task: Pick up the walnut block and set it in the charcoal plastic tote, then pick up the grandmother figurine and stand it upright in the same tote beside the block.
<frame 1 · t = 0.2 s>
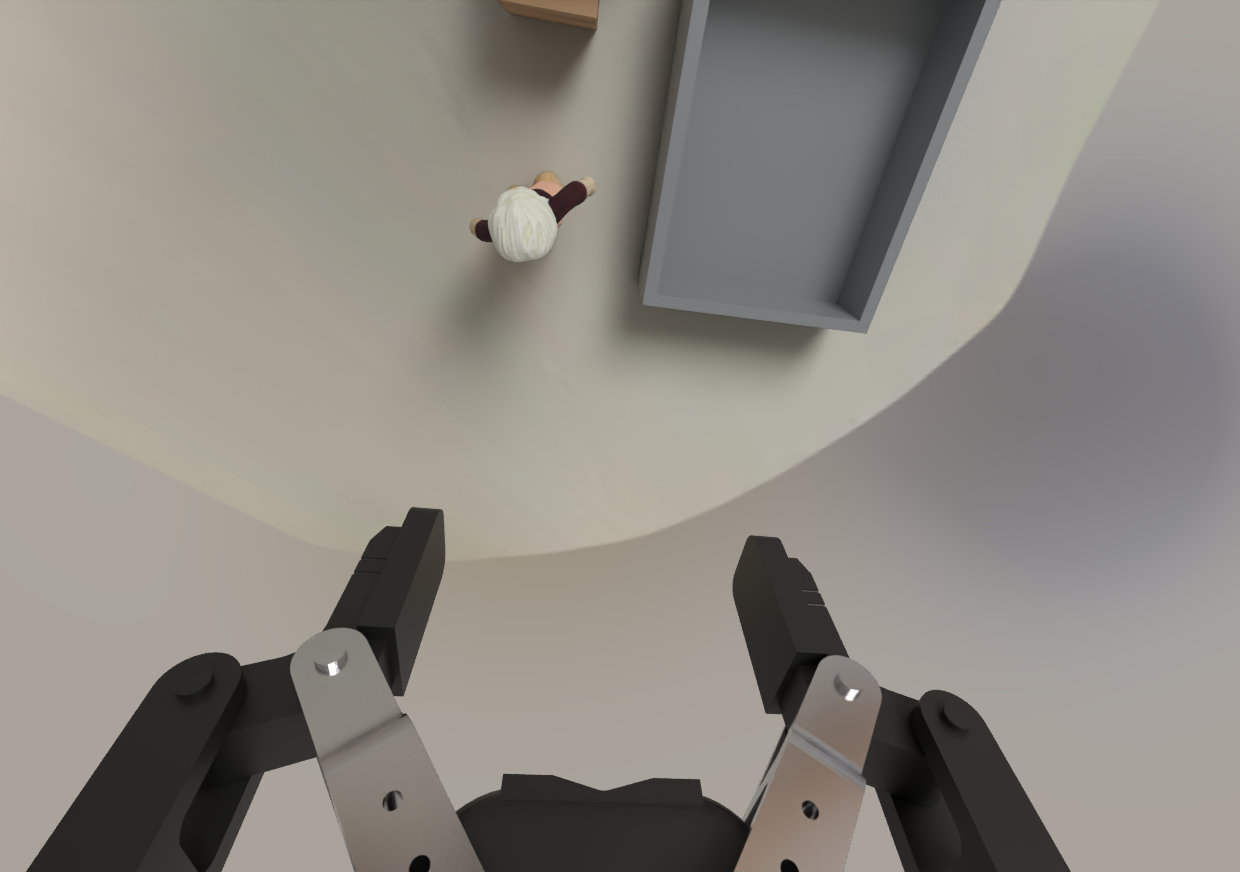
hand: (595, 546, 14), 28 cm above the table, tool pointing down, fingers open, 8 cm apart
grandmother figurine: (543, 197, 36), on the table
tote: (778, 150, 35), on the table
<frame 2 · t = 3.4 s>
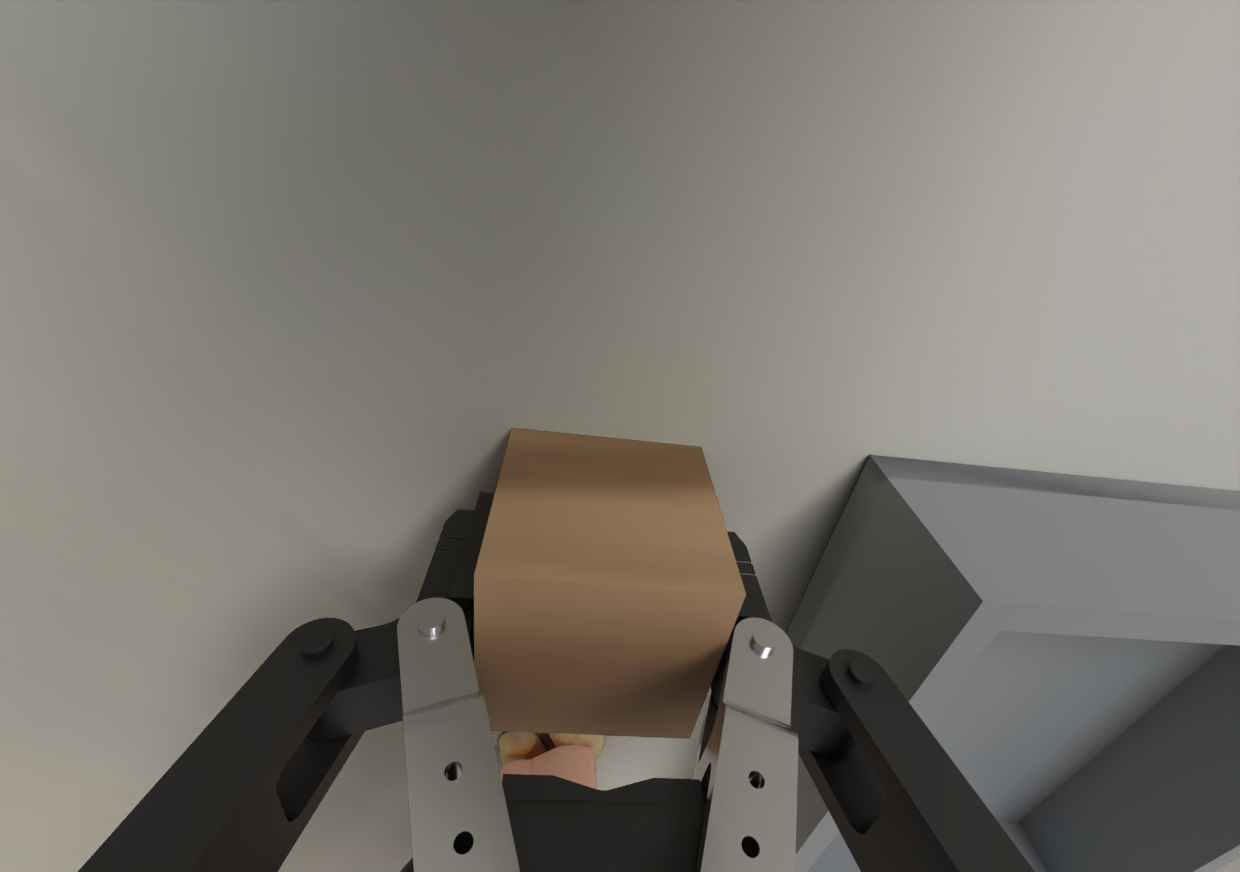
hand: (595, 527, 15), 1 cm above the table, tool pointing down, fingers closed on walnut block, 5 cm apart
walnut block: (596, 510, 15), on the table, touching gripper
grandmother figurine: (561, 733, 22), on the table
tote: (961, 682, 20), on the table
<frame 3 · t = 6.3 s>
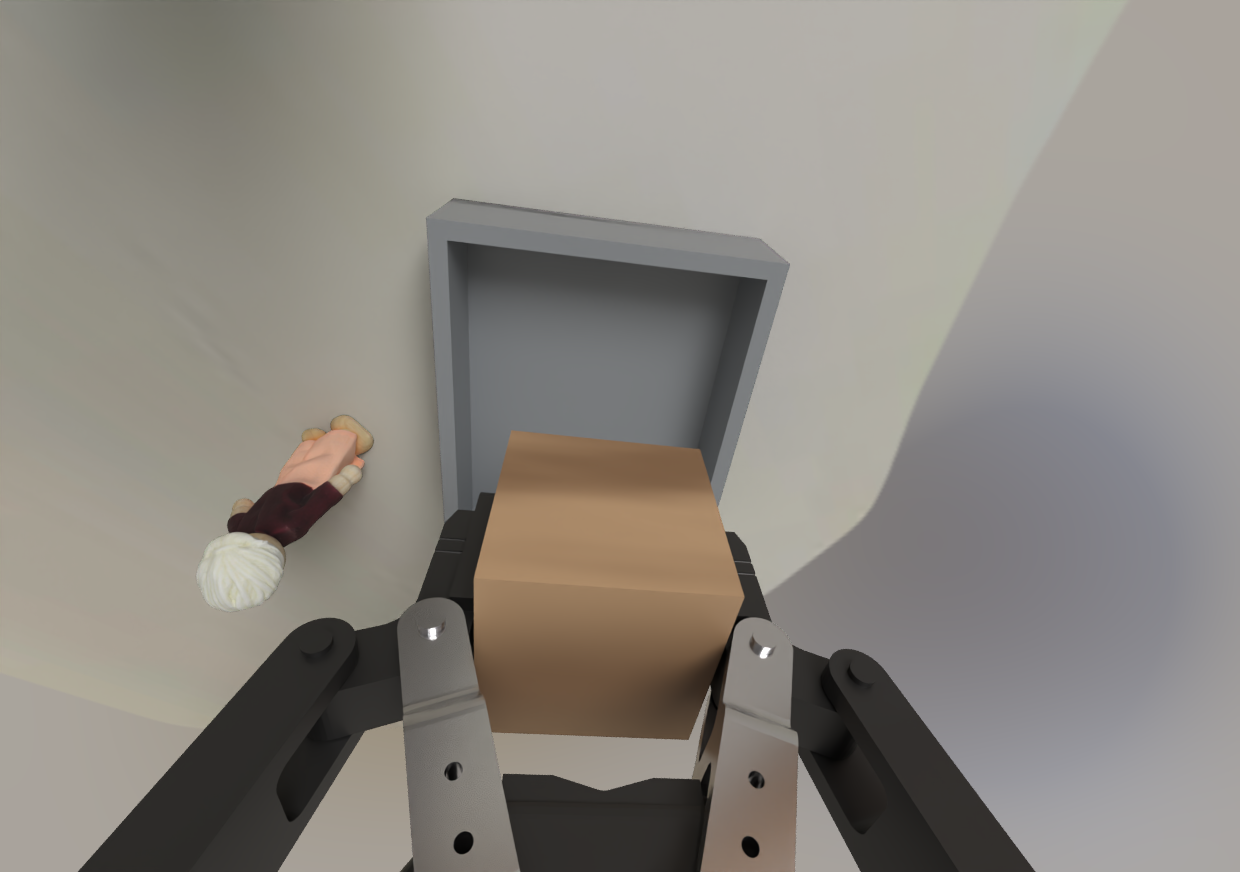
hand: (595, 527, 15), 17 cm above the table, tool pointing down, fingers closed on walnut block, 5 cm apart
walnut block: (596, 512, 15), point 17 cm above the table, touching gripper
grandmother figurine: (345, 436, 33), on the table
tote: (591, 390, 32), on the table
when the fingers open (3 cm above the table, at t = 9.5 s): walnut block drops 1 cm, resting on tote.
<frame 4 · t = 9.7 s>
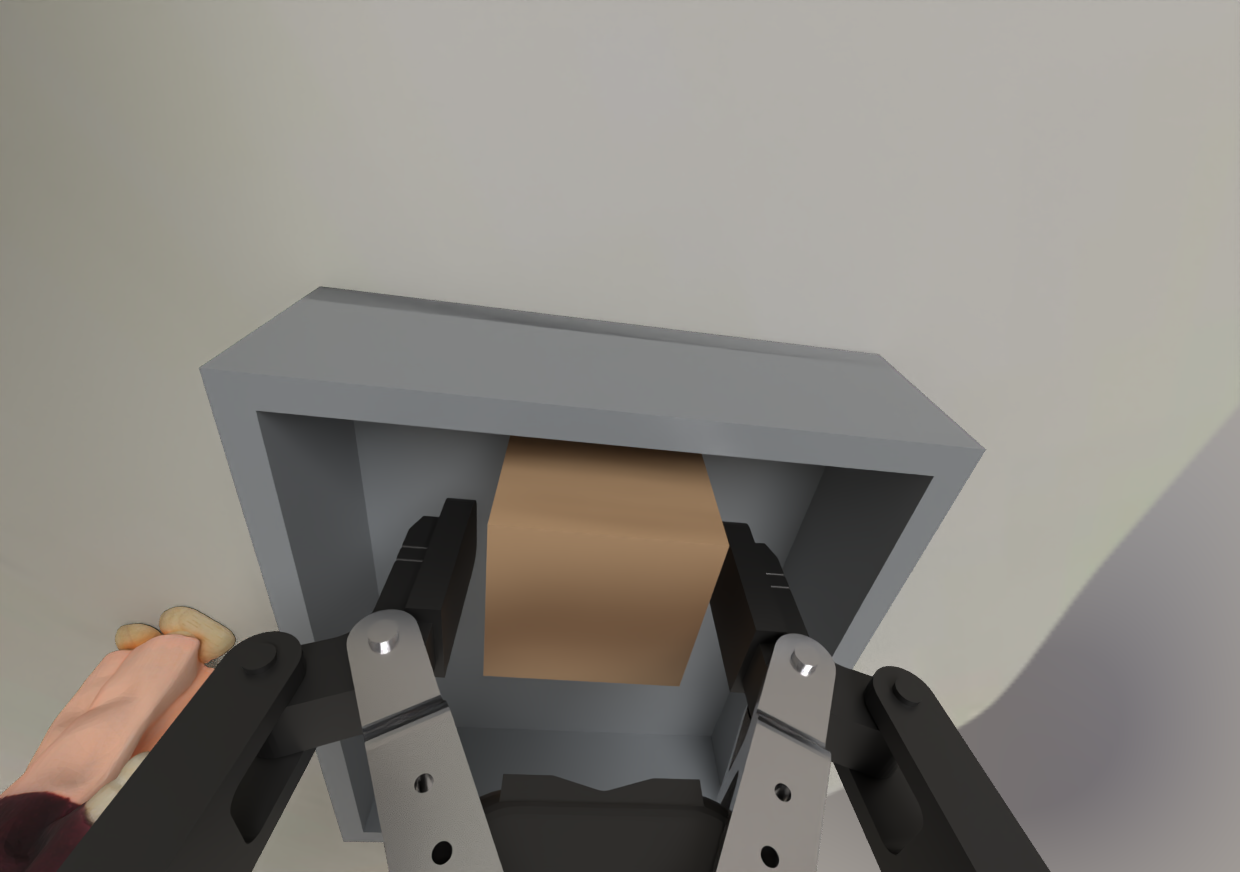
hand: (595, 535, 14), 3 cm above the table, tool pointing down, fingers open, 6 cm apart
walnut block: (595, 483, 16), point 1 cm above the table, touching tote
grandmother figurine: (190, 630, 21), on the table
tote: (580, 571, 20), on the table
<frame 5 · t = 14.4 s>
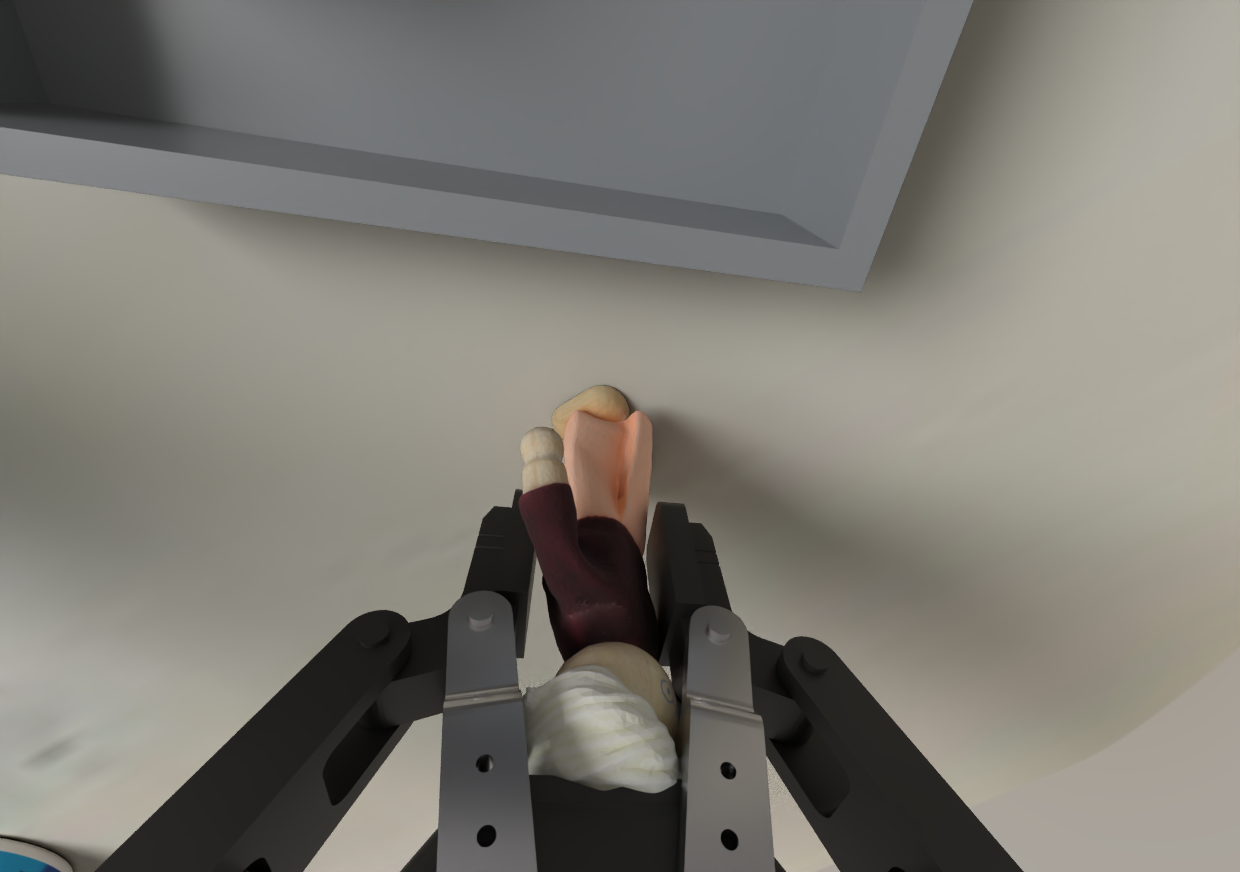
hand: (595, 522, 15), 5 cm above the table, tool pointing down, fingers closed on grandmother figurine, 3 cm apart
grandmother figurine: (599, 426, 19), on the table, touching gripper
blue labelled canister: (10, 855, 35), on the table
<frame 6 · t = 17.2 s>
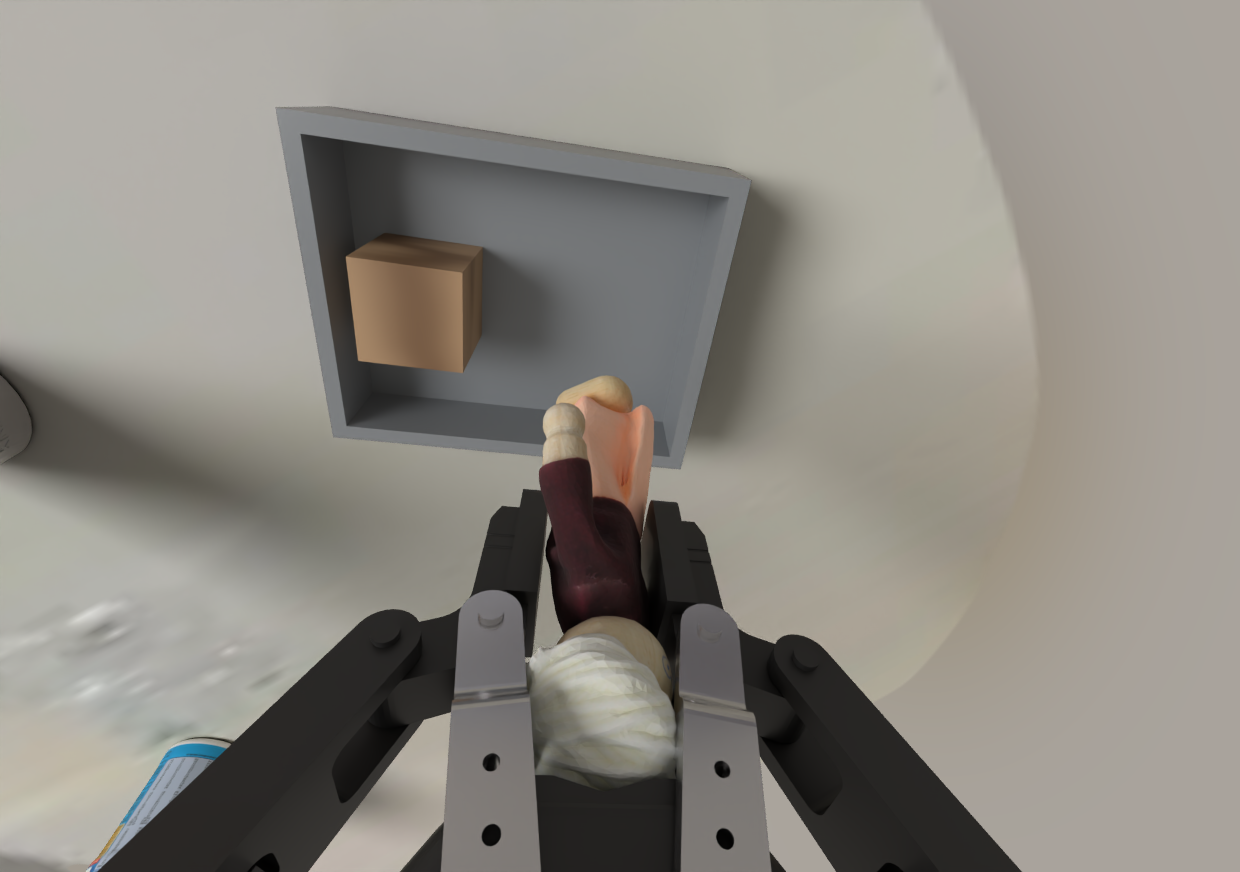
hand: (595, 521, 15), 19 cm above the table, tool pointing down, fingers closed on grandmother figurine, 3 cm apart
walnut block: (435, 286, 29), point 1 cm above the table, touching tote
grandmother figurine: (600, 415, 19), point 13 cm above the table, touching gripper
tote: (528, 292, 30), on the table
blue labelled canister: (215, 754, 55), on the table
when the fingers open (7 cm above the table, at t = 20.3 s): grandmother figurine stays where it is, resting on tote.
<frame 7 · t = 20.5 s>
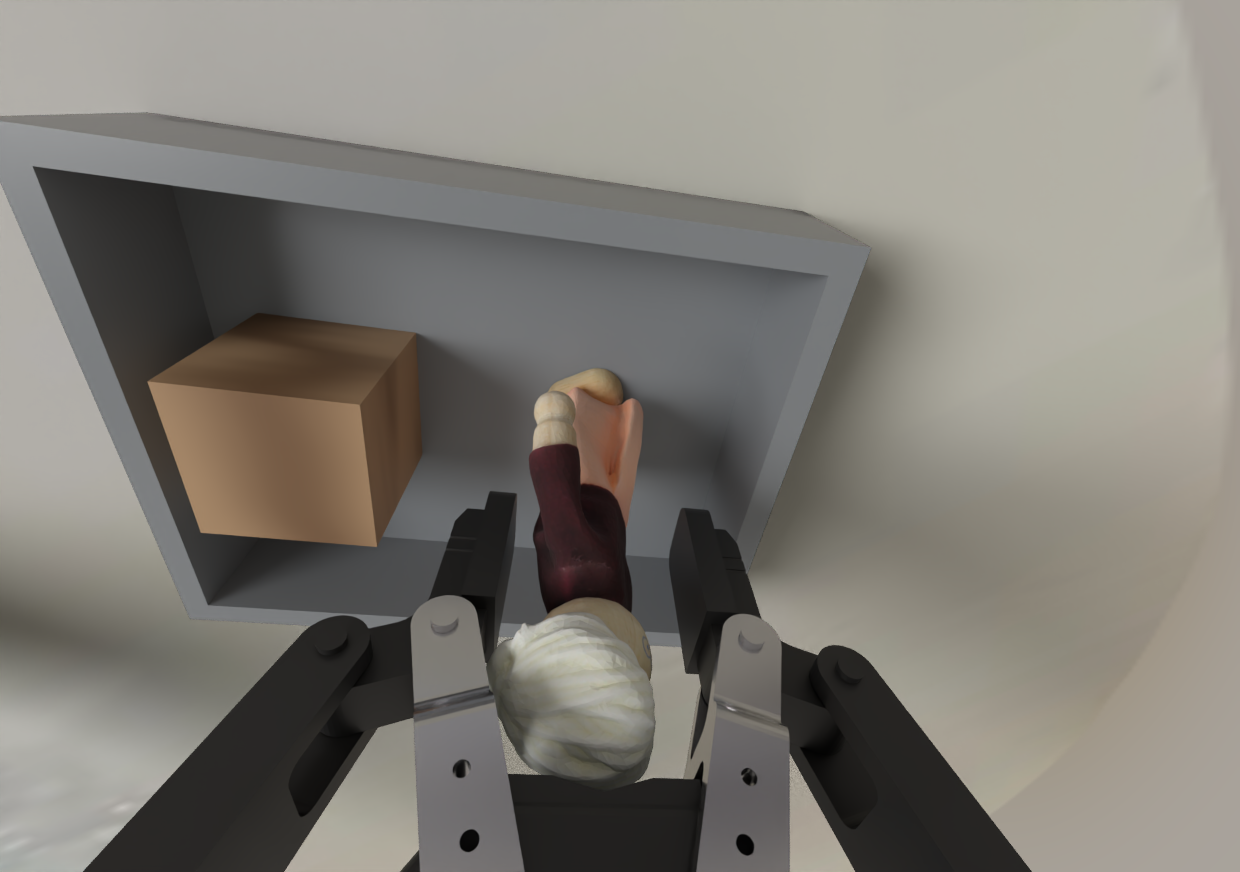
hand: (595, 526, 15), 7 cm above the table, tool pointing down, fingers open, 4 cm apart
walnut block: (346, 389, 19), point 1 cm above the table, touching tote
grandmother figurine: (590, 407, 20), point 1 cm above the table, touching tote
tote: (492, 391, 20), on the table
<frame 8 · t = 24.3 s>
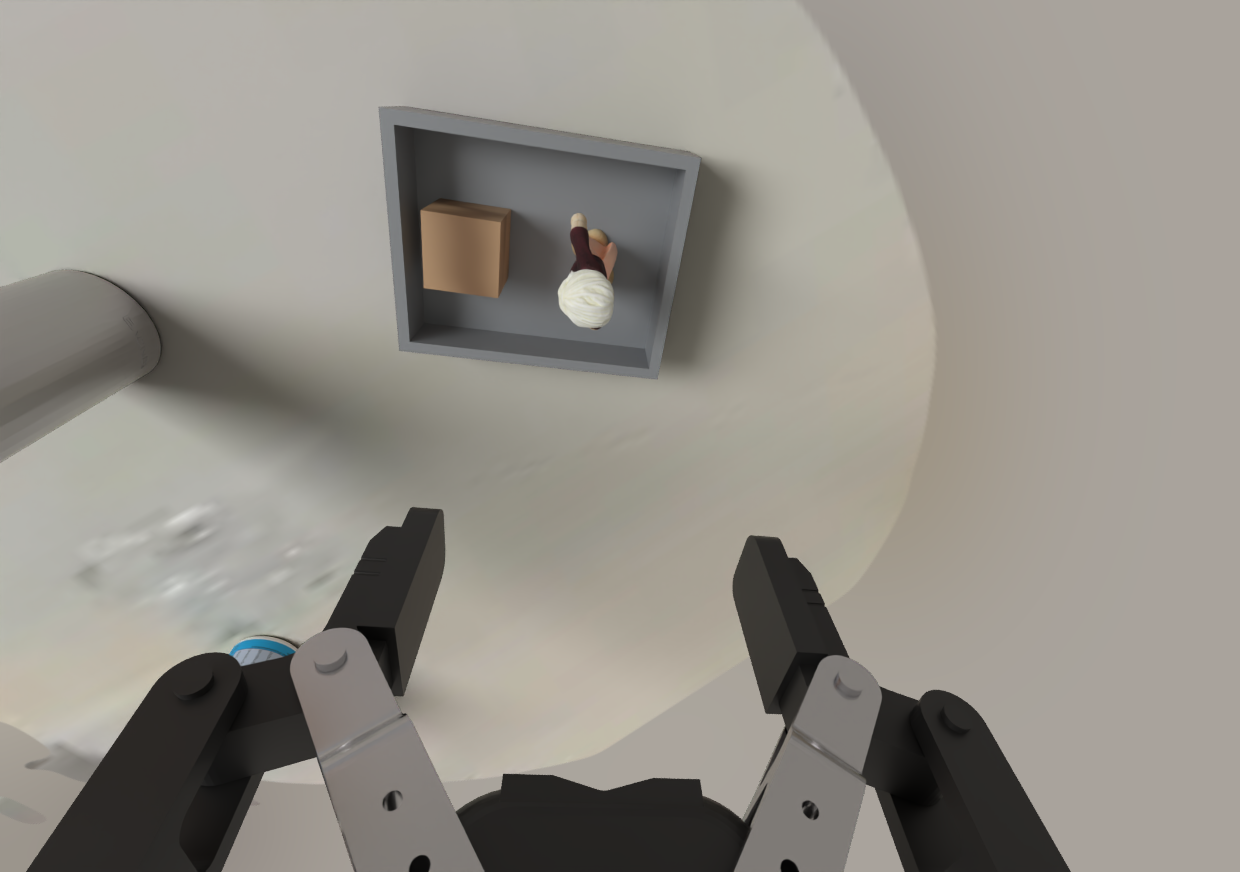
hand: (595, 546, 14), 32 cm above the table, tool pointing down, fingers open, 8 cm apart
walnut block: (475, 239, 39), point 1 cm above the table, touching tote
grandmother figurine: (592, 252, 40), point 1 cm above the table, touching tote
tote: (543, 245, 41), on the table
blue labelled canister: (272, 653, 65), on the table
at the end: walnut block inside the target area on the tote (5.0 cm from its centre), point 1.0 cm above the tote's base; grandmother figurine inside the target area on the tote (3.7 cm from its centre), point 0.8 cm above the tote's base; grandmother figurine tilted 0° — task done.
